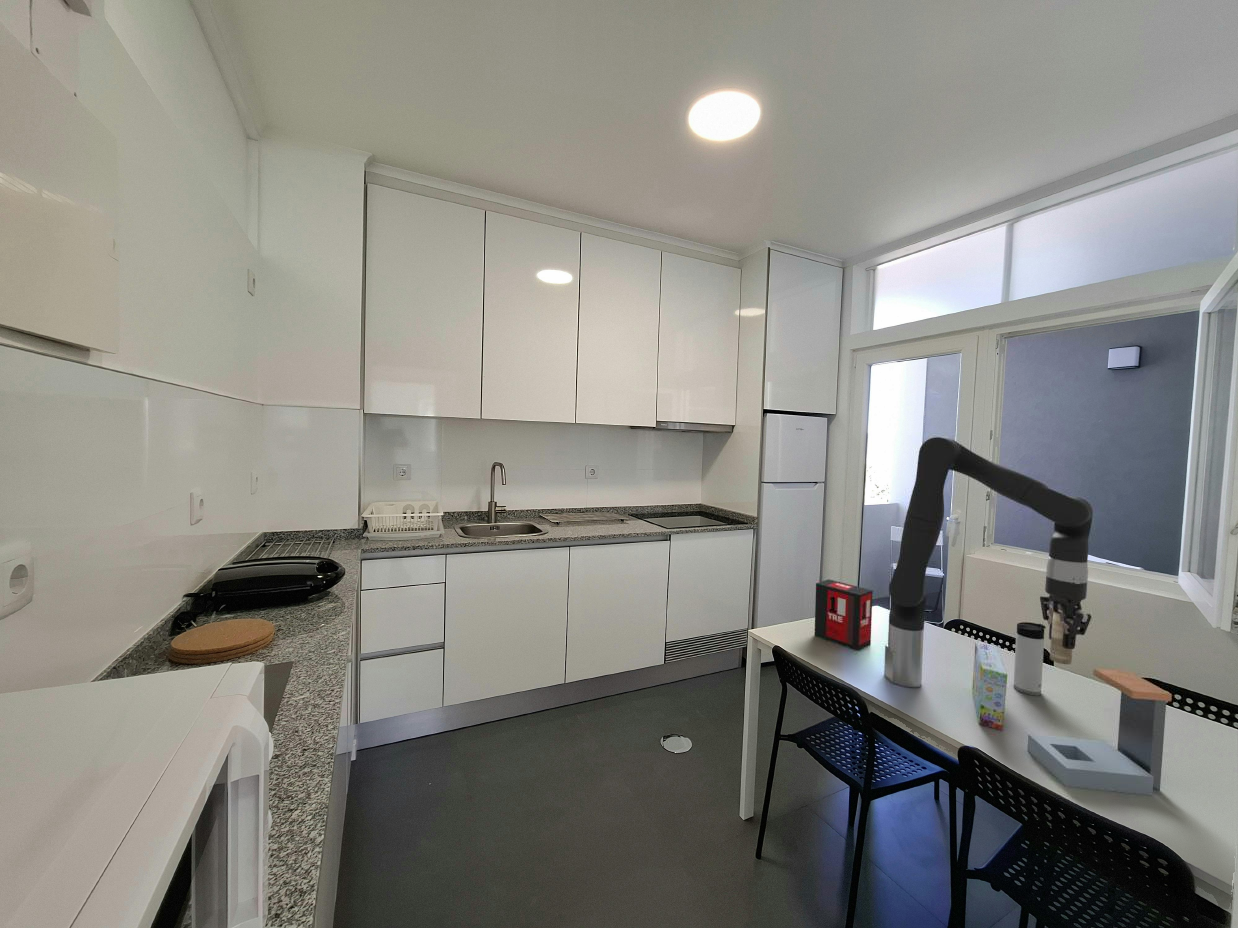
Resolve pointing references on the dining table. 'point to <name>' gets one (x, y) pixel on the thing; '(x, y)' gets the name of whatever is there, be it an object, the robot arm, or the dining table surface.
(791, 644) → the dining table surface
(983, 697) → the snack box
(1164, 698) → the orange-capped grey pillar
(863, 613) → the cleaning product box
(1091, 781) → the socket block
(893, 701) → the dining table surface
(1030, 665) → the travel mug
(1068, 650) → the peg
